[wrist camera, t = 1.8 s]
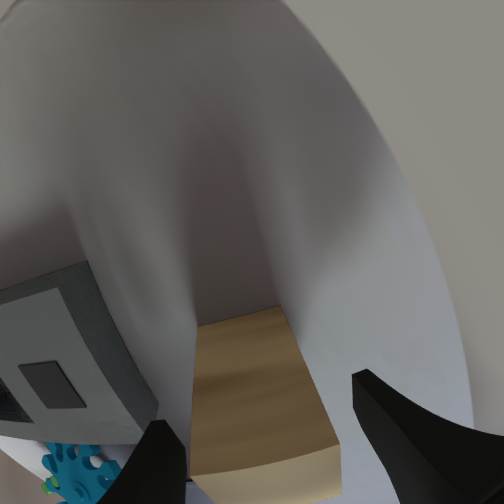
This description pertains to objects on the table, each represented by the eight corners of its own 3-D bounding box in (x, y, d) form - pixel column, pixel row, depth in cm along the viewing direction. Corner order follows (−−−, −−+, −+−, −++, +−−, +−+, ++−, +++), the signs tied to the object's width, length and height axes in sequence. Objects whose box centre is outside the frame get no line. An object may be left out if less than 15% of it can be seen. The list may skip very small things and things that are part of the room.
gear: (102, 432, 13) (151, 563, 9) (156, 423, 19) (192, 532, 14) (20, 428, 15) (53, 531, 11) (69, 427, 20) (97, 517, 16)
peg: (294, 367, 15) (341, 494, 7) (222, 385, 15) (232, 519, 7) (280, 305, 14) (339, 443, 6) (197, 326, 14) (189, 475, 6)
